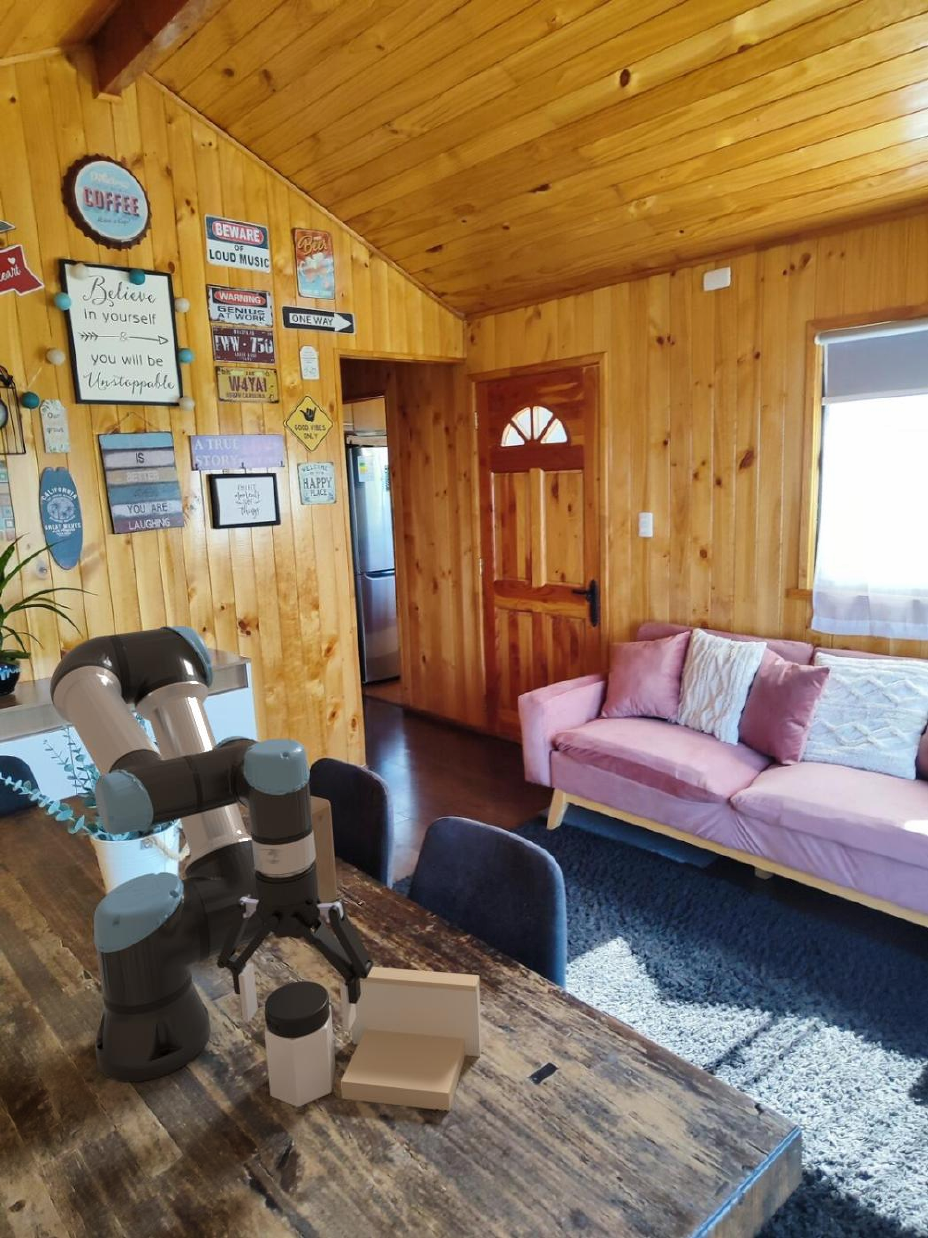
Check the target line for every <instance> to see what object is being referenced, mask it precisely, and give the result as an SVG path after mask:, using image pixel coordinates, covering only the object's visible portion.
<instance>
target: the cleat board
mask: <svg viewBox="0 0 928 1238" xmlns="http://www.w3.org/2000/svg"><path fill="white" fill-rule="evenodd" d="M360 987H361V995H360V998H359V1000H358V1002H357V1003H356V1004H355V1009H356V1019H355V1021H354V1023H353V1025H352V1027H351V1037H352V1045H357V1046H356V1048H355V1051H354V1053H353V1054H352V1057H351V1058H350V1061H349V1063H348V1065H347V1067H346V1069H345V1071H344V1074H343V1076H342V1078H341V1080H340V1088H341V1099H344V1100H352V1101H357V1102H358V1101H360V1102H368V1103H376V1104H385V1105H394V1106H401V1107H410V1106H411V1108H421V1109H429V1110H436V1109H439V1111H444V1110H447V1111H446V1112H450V1111H451V1107H452V1105H451V1104H453V1101H454V1097H455V1093H456V1090H457V1086H458V1083H459V1080H460V1076H461V1073H462V1070H463V1069H462V1068H463V1065H464V1062H465V1058H466V1056H468V1057H477V1058H478V1057H479V1058H480V1057H481V1055H482V1051H483V1048H482V1047H483V1046H482V1045H483V1042H482V1022H481V1020H482V1019H481V1000H480V999H481V997H480V975H479V974H478V975H477V974H467V973H454V972H441V971H430V970H418V969H417V970H416V969H407V968H406V969H405V968H404V969H403V968H392V967H380V966H373V967H372V969H371V971H370V973H369V975H368V976H367V978H366V979H362V978H360ZM441 1109H442V1110H441Z"/></svg>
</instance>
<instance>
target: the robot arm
mask: <svg viewBox="0 0 928 1238" xmlns="http://www.w3.org/2000/svg"><path fill="white" fill-rule="evenodd" d="M211 657H212V656H211V653H210V651H209V649H208V647H207V644H206V643H205V641H204V639H203V637H202V636H201V635H200V634H199V632H197V630H195V629H194V628H192V627H189V626H186V625H180V626H179V625H177V626H169V625H166V626H162V627H160V628H157V629H156V628H154V629H147V630H140V631H138V630H137V631H132V632H125V633H117V634H112V635H111V634H110V635H107V634H106V635H101V636H100V635H99V636H95V637H92V638H89V639H87V640H85V641H83V642H81V643H79V644H77V645H76V646H75V647H73V648H72V649H71V650H69V651H68V652H67V653H66V654H65V655H64V656H63V657H62V659H61V660H60V661H59V663H58V664H57V666H56V668H54V669H55V670H54V671H53V674H52V677H51V680H50V685H49V695H50V699H51V703H52V704H53V706H54V709H55V710H56V712H57V714H58V715H59V716H60V717H61V718H62V719H63V720H65V721H66V722H68V723H71V725H72V726H73V727H74V730H75V731H76V733H77V735H78V737H79V738H80V741H81V742H82V744H83V746H84V747H85V750H86V751H87V753H88V755H89V757H90V758H91V760H92V762H93V764H94V765H95V767H96V770H97V771H98V773H99V775H100V777H98V778H97V779H96V781H95V785H94V796H95V804H96V808H97V813H98V816H99V820H100V822H101V826H102V827H103V829H104V831H105V832H106V833H108V834H110V835H113V836H116V835H122V834H127V833H130V832H135V831H136V832H142V831H145V830H147V829H149V828H152V827H155V826H158V825H162V824H166V823H170V822H173V821H177V820H180V824H181V826H182V830H183V833H184V836H185V840H186V843H187V846H188V850H189V853H190V858H189V859H188V861H187V863H186V865H185V867H184V874H185V877H186V878H184V879H181V878H180V877H179V876H178V875H176V874H174V873H172V872H167V871H166V872H165V871H161V872H158V873H155V872H151V873H146V874H143V875H140V876H139V875H138V876H136V877H135V878H131V879H129V880H127V881H125V882H124V883H122V884H119V885H118V886H116V887H115V888H113V889H112V890H111V891H109V892H108V893H107V894H106V895H105V896H104V898H103V899H102V900H100V901H99V903H98V905H97V907H96V909H95V912H94V915H93V925H94V926H93V928H94V931H93V932H94V937H93V944H94V947H95V949H96V953H97V962H98V968H99V969H98V970H99V975H100V985H101V993H102V994H101V995H102V999H103V1008H102V1012H101V1018H100V1022H99V1026H98V1029H97V1034H96V1040H95V1048H94V1050H95V1058H96V1064H97V1067H98V1069H99V1071H100V1072H101V1073H102V1074H104V1076H106V1077H108V1078H109V1079H113V1080H115V1081H121V1082H142V1081H148V1080H153V1079H157V1078H160V1077H163V1076H166V1075H168V1074H170V1073H172V1072H174V1071H177V1070H179V1069H180V1068H182V1067H184V1066H185V1065H187V1064H188V1063H190V1062H191V1061H192V1060H194V1059H195V1058H196V1057H197V1056H198V1055H199V1054H200V1053H201V1052H202V1051H203V1050H204V1048H205V1047H206V1045H207V1043H208V1042H209V1039H210V1036H211V1031H212V1029H211V1020H210V1014H209V1011H208V1009H207V1007H206V1006H205V1004H204V1002H203V1001H202V999H201V997H200V994H199V992H198V990H197V988H196V986H195V983H194V982H193V977H192V966H194V965H196V964H199V963H202V962H204V961H207V960H210V959H213V958H216V957H217V960H216V965H217V967H218V968H219V969H224V968H226V969H228V970H230V973H232V982H233V990H234V993H235V995H240V1004H241V1014H242V1022H243V1023H249V1022H251V1020H252V1018H253V1017H254V1015H255V1014H256V1013H257V1011H258V1009H259V1008H258V1007H259V1006H258V998H257V997H258V995H257V987H256V978H255V967H254V963H249V962H248V961H249V960H250V959H251V958H252V956H253V955H254V954H255V952H256V951H257V950H258V949H259V948H260V946H261V944H262V943H263V942H264V941H265V940H266V939H267V938H268V937H269V936H272V935H275V936H276V938H281V939H282V938H288V937H289V938H292V939H297V940H300V939H302V938H304V939H305V941H306V942H307V943H308V944H309V945H314V947H315V948H316V949H317V950H318V951H319V952H320V953H321V954H322V955H323V957H324V958H325V959H326V960H327V961H328V963H330V965H331V966H332V967H333V968H334V969H335V971H337V972H338V974H339V975H340V976H341V977H342V979H341V980H340V982H339V990H340V991H339V992H340V1004H341V1005H340V1006H341V1017H342V1027H343V1028H342V1029H343V1031H344V1032H350V1030H352V1025H353V1023H354V1021H355V1019H356V1009H355V1004H356V1003H357V1002H358V1000H359V998H360V995H361V987H360V978H362V979H366V978H367V976H368V975H369V973H370V971H371V969H372V967H374V965H375V964H374V961H373V959H372V957H371V956H370V954H369V952H368V951H367V948H366V947H365V945H364V943H363V941H362V940H361V938H360V936H359V935H358V933H357V931H356V929H355V928H354V926H353V925H352V922H351V921H350V919H349V917H348V916H347V912H346V907H345V903H344V899H341V898H336V899H335V900H334V901H333V902H331V903H321V901H320V899H319V897H318V879H317V867H316V863H315V861H314V860H315V857H316V853H315V844H314V834H313V824H312V811H311V797H310V796H311V786H310V776H311V775H310V774H311V772H310V766H309V764H308V758H307V752H306V748H305V746H304V744H302V742H300V741H298V740H295V739H287V738H272V739H267V740H263V741H258V740H255V739H253V738H248V737H245V736H241V735H232V736H228V737H225V738H224V739H222V740H220V741H219V742H218V743H217V741H216V739H215V736H214V733H213V730H212V727H211V724H210V722H209V721H210V720H209V718H208V714H207V712H206V710H205V707H204V703H205V701H206V699H207V698H208V697H209V688H211V687H212V684H213V681H214V667H213V665H212V663H211V662H212V658H211ZM131 704H134V708H135V712H136V714H137V715H138V717H139V718H141V719H143V720H146V721H149V722H150V726H151V729H152V732H153V735H154V739H155V741H156V745H157V747H156V745H155V744H154V742H153V740H152V739H151V738H150V736H149V735H148V733H147V732H146V730H145V729H144V728H143V726H142V725H141V723H140V722H139V721H138V719H137V717H136V716H135V715H134V713H133V712H132V710H131V709H130V707H129V706H128V705H131ZM239 803H240V804H241V805H243V806H244V807H246V808H247V809H248V817H249V827H250V834H248V832H247V830H246V826H245V824H244V821H243V817H242V815H241V813H240V809H239V806H238V804H239ZM321 916H324V917H325V921H326V922H325V921H324V920H323V919H322V918H321ZM326 923H328V924H330V928H331V929H332V932H333V933H334V934H333V933H331V932H330V930H329V929H328V928H327V924H326ZM312 927H314V930H312ZM334 935H335V936H334ZM244 946H246V947H245V948H244V949H243V951H242V952H241V953H240V954H239V955H237V954H236V951H237V950H238V949H239V948H241V947H244ZM247 962H248V963H247Z"/></svg>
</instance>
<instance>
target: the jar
mask: <svg viewBox="0 0 928 1238" xmlns="http://www.w3.org/2000/svg"><path fill="white" fill-rule="evenodd" d="M332 1016H333V1015H332V1006H331V1005H330V996H329V991H328V990H327V988H325V986H323V985H322V984H320V983H317V982H314V981H308V980H304V981H301V980H300V981H294V982H291V983H287V984H284V985H282V986H280V987H278V988H276V989H275V990H273V992H272V993H270V994H269V996H268V997H267V998H266V1000H265V1004H264V1021H265V1025H266V1026H265V1029H264V1041H265V1052H266V1062H267V1074H268V1083H269V1084H268V1085H269V1094H270V1096H271V1098H274V1099H277V1100H280V1101H282V1102H285V1103H287V1104H289V1105H291V1106H294V1107H296V1108H300V1107H302V1106H305V1105H307V1104H309V1103H311V1102H313V1101H316V1100H317V1099H320V1098H322V1097H324V1096H326V1095H328V1094H330V1093H332V1091H333V1085H334V1080H335V1072H336V1057H335V1055H336V1054H335V1043H334V1042H335V1041H334V1032H333V1031H334V1030H333V1017H332Z"/></svg>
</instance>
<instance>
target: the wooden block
mask: <svg viewBox="0 0 928 1238" xmlns="http://www.w3.org/2000/svg"><path fill="white" fill-rule="evenodd" d="M310 797H311V811H312V824H313V834H314V844H315V853H316V857H315V860H314V861H315V863H316V867H317V879H318V897H319V899H320V901H321V903H334V902H335V900H336V899H338V898H337V897H338V885H337V873H336V858H335V846H334V845H335V844H334V833H333V832H334V831H333V818H332V805H331V802H330V801H329V799H325V798H323V797H317V796H313V795H310Z"/></svg>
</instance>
